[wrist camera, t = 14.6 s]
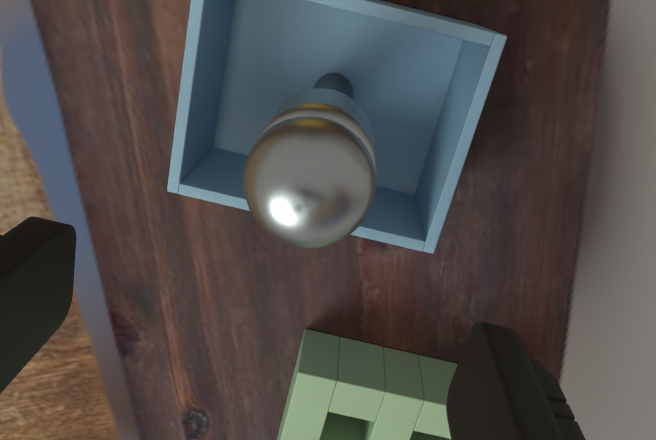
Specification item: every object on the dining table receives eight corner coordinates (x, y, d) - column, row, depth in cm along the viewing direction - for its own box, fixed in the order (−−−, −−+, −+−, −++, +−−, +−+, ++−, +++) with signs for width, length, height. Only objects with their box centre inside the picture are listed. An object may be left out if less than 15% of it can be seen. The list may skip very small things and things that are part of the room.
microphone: (379, 65, 33) (395, 153, 16) (360, 137, 35) (357, 285, 18) (305, 47, 33) (243, 116, 16) (289, 120, 35) (219, 253, 18)
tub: (476, 24, 32) (508, 35, 25) (420, 202, 37) (433, 254, 30) (232, -37, 32) (196, -43, 25) (204, 151, 36) (166, 191, 29)
